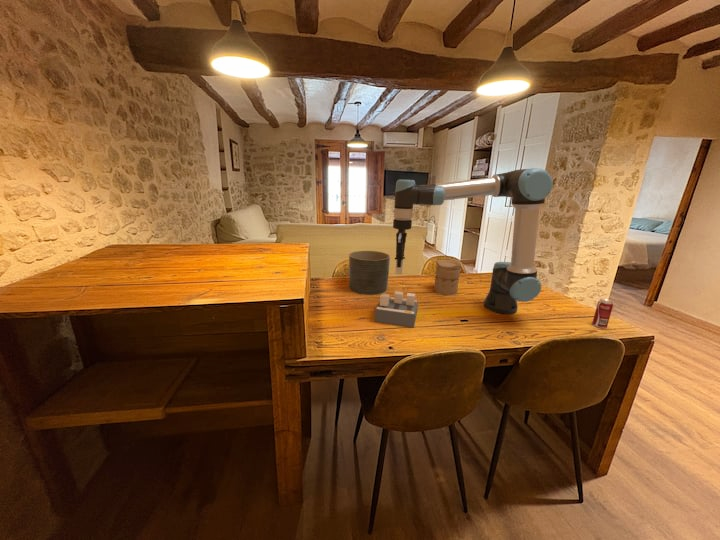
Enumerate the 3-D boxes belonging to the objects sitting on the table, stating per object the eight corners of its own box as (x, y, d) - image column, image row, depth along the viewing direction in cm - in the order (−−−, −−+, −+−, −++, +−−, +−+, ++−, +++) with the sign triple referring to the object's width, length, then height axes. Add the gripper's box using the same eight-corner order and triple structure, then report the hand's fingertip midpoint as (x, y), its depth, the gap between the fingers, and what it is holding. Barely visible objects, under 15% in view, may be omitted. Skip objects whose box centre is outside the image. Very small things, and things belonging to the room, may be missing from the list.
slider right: (414, 303, 135) (415, 293, 134) (413, 306, 132) (414, 296, 130) (406, 302, 136) (407, 292, 135) (406, 305, 133) (406, 295, 131)
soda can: (592, 322, 136) (598, 297, 133) (606, 325, 133) (614, 300, 129) (591, 326, 132) (598, 300, 129) (606, 329, 129) (614, 304, 126)
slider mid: (402, 301, 137) (403, 292, 135) (401, 304, 134) (402, 294, 132) (395, 300, 138) (395, 291, 136) (393, 303, 134) (394, 293, 133)
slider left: (388, 303, 133) (389, 294, 132) (387, 306, 130) (388, 297, 129) (381, 302, 134) (381, 293, 133) (379, 305, 131) (380, 296, 130)
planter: (390, 286, 175) (393, 252, 170) (383, 299, 155) (385, 262, 149) (354, 281, 181) (355, 249, 175) (343, 294, 160) (343, 257, 155)
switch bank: (417, 312, 140) (418, 299, 139) (413, 327, 126) (415, 313, 124) (381, 307, 144) (382, 295, 143) (374, 321, 130) (375, 308, 128)
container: (453, 299, 158) (457, 266, 153) (430, 294, 164) (433, 262, 159) (459, 292, 168) (463, 261, 163) (437, 288, 174) (440, 258, 169)
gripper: (396, 216, 129) (392, 269, 136) (390, 220, 117) (387, 277, 124) (413, 217, 127) (409, 270, 134) (410, 221, 115) (405, 279, 122)
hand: (398, 273), depth 129 cm, fingers closed
